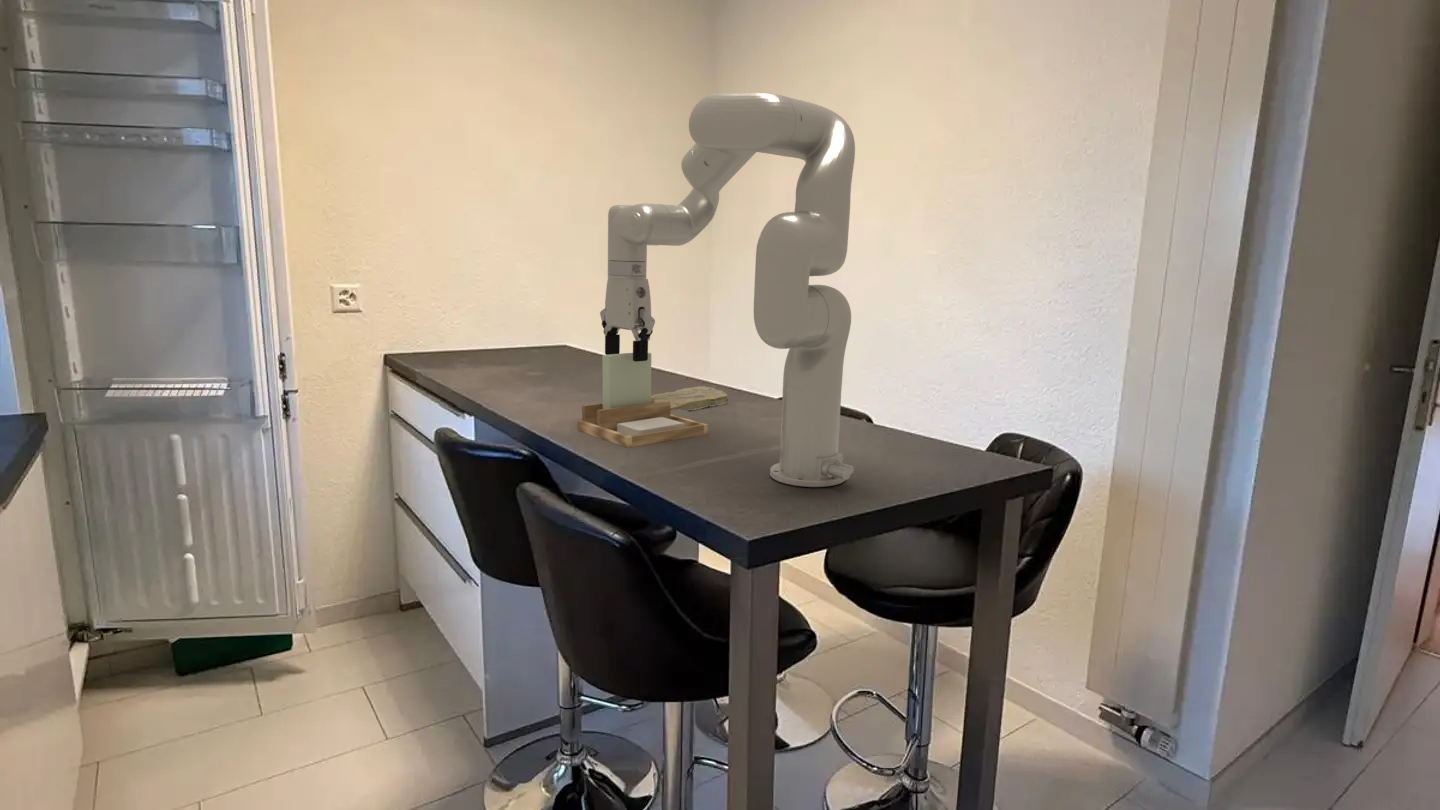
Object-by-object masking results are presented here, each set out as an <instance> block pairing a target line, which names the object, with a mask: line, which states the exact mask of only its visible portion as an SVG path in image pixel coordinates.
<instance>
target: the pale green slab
mask: <svg viewBox="0 0 1440 810" xmlns="http://www.w3.org/2000/svg"><path fill="white" fill-rule="evenodd" d="M601 357H602V358H601V359H602V362H601V363H602V403H603V409H608V408H616V407H623V406H631V405H639V404H646V403H651V395H652V352H648V360H647V361H638V362H635V361H633V352H626V353H619V354H610V355H606V354H603V355H602V356H601Z"/></svg>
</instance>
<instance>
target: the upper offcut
mask: <svg viewBox="0 0 1440 810" xmlns="http://www.w3.org/2000/svg"><path fill="white" fill-rule="evenodd" d="M681 427H684V423H682V422H678V421H675V420H671V419H667V418H664V417H658V418H651V419H645V420H638V421H632V422H625V423H619V424H617V432H619V433H622V434H625V435H628V436H631V435H637V434H644V433H650V432H656V431H662V430H668V429H675V428H681Z"/></svg>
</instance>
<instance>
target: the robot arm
mask: <svg viewBox="0 0 1440 810" xmlns="http://www.w3.org/2000/svg"><path fill="white" fill-rule="evenodd" d="M688 119H689V120H688V132H689V135H690V137H691V138H692V140H693V142H694V144H693V145H692V146H691V148H690V149H689V150H688V151H687V152H686V153H685V154H684V156H683V158H682V160H681V163H680V164H681V165H680V166H681V170H682V173H683V175H684V178H685V179H686V181H687V182H688V183H689V185H690V186H691V187H692V189H691V191H690V192H689V194H687V196H686V197H684V199H683V200H682V201H681V202H680V203H679V204H678V205H672V204H661V203H656V204H655V203H638V204H632V205H631V204H617V205H616V204H615V205H612V206H611V207H610V208H609V209H608V212H607V213H608V215H607V218H608V219H607V281H606V288H605V298H604V299H605V301H604V308H603V309H602V310H601V311H600V312H599V315H600V319H601V326H602V328H603V335H604V355H610V354H621V353H620V348H621V347H620V345H621V337H620V336H621V334H620V333H619V332H620V330H626V331H627V330H628V331H631V333H632V335H633V337H634V340H633V341H632V353H633V361H635V362H638V361H647V360H648V353H649V341H650V340H651V336H652V334H653V333H654V332H653V331H654V326H655V324H656V320H655V318H654V317H653V316H652V300H651V298H652V297H651V289H650V283H649V279H648V278H647V267H648V265H647V259H648V258H647V256H648V246H671V247H672V246H675V247H676V246H677V247H678V246H679V247H680V246H685V245H686V244H688V243H690V242H691V241H693V240H694V239H695V238H696V237H697V236H698V235H699V234H700V233H701V232H703V231H704V230H705V228H706V227H707V226H709V224H710V223H711V222H712V220H713V219H714V217H715V215H716V212H717V208H718V206H719V202H720V191H721V190H722V189H723V188H724V187H725V186H726V185H727V183H728V182H729V181H730V180H732V178H733V177H734V176H735V175H736V174H737V173H738V172H739V171H740V170H741V169H742V168H743V167H744V166H745V165H746V164H747V162H748V161H750V160H751V159H752V157H753V156H754V155H756V153H759V154H760V153H762V154H769V155H774V156H781V157H787V158H794V159H799V160H802V161H804V162H805V164H804V165H803V167H802V169H801V171H800V174H799V177H798V179H797V183H796V187H795V202H794V212H793V211H786V212H782V213H778V214H777V215H775V216H773V217H772V218H771V219H769V220H768V221H767V222H766V223H765V225H764V226H763V228H762V230H761V232H760V235H759V237H758V241H757V244H756V251H755V265H754V266H755V268H754V269H755V270H754V293H753V322H754V326H755V331H756V332H757V335H758V336H759V338H760V340H761V341H762V342H764V343H765V344H766V345H768V346H769V347H771V348H774V349H780V350H781V349H782V350H785V349H787V350H788V352H787V354H786V358H785V361H784V368H783V374H782V375H783V377H782V379H783V380H782V398H781V403H782V404H781V419H780V421H781V425H780V426H781V427H780V449H779V462H777V463H774V464H773V465H772V466H770V468H769V476H770V478H771V479H773V480H775V481H777V482H779V483H781V484H786V485H790V486H796V487H805V488H806V487H808V488H824V487H833V486H838V485H841V484H842V483H844V482H845V481H848V480H849V479H850V477H851V475H852V474H853V473H854V472H855V471H854V470H855V468H854V466H853V465H851V464H847V463H844V462H843V459H844V454H843V453H840V452H839V444H840V443H839V440H840V439H839V438H840V422H841V403H842V389H843V388H842V387H843V386H842V385H843V374H844V373H843V372H844V362H845V361H844V360H845V353H846V347H847V344H848V339H849V335H850V331H851V326H852V325H851V324H852V310H851V306H850V304H849V301H848V299H847V297H846V296H845V295H844V294H843V293H842V292H841V291H840V290H838V289H837V288H834V286H829V285H826V284H809V283H810V277H823V276H828V275H829V276H830V275H832V274H834V273H836V272H838V271H839V270H840V269H842V267H843V265H844V264H845V262H846V258H847V254H848V244H849V229H850V214H851V213H850V212H851V192H852V181H853V173H854V165H855V159H856V158H855V157H856V143H855V138H854V133H853V130H852V128H851V126H850V125H849V124H848V123H847V121H846V120H845V119H844V118H843V117H842V116H841V115H839V114H838V113H837V112H835V111H833V110H831V109H829V108H827V107H824V106H822V105H818V104H815V103H813V102H809V101H806V100H801V99H796V98H791V97H788V96H785V95H782V94H777V93H776V94H775V93H771V92H734V93H733V92H732V93H731V92H729V93H728V92H722V93H721V92H720V93H719V92H717V93H711V94H708V95H706V96H704V97H703V98H701V99H699V101H698V102H697V103H696V104H695V105H694V107H693V108H692V111H691V112H690V115H689V118H688ZM618 333H619V334H618Z"/></svg>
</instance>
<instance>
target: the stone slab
mask: <svg viewBox="0 0 1440 810" xmlns="http://www.w3.org/2000/svg"><path fill="white" fill-rule="evenodd" d="M651 397H655V402H661V401H671V407H670V411H673V410H677V409H678V410H681V411H685V410H688V409H694V408H700V407H705V406H710V405H717V404H721V403H727V404H728V399H729V398H728V394H727V393H726V392H725V391H723V390H720V389H716V388H714V387H710V386H705V385H698V386H693V387H692V386H691V387H684V388H682V389H681V388H680V389H676V390H675V391H667V392H663V393H653V394H651Z"/></svg>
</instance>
